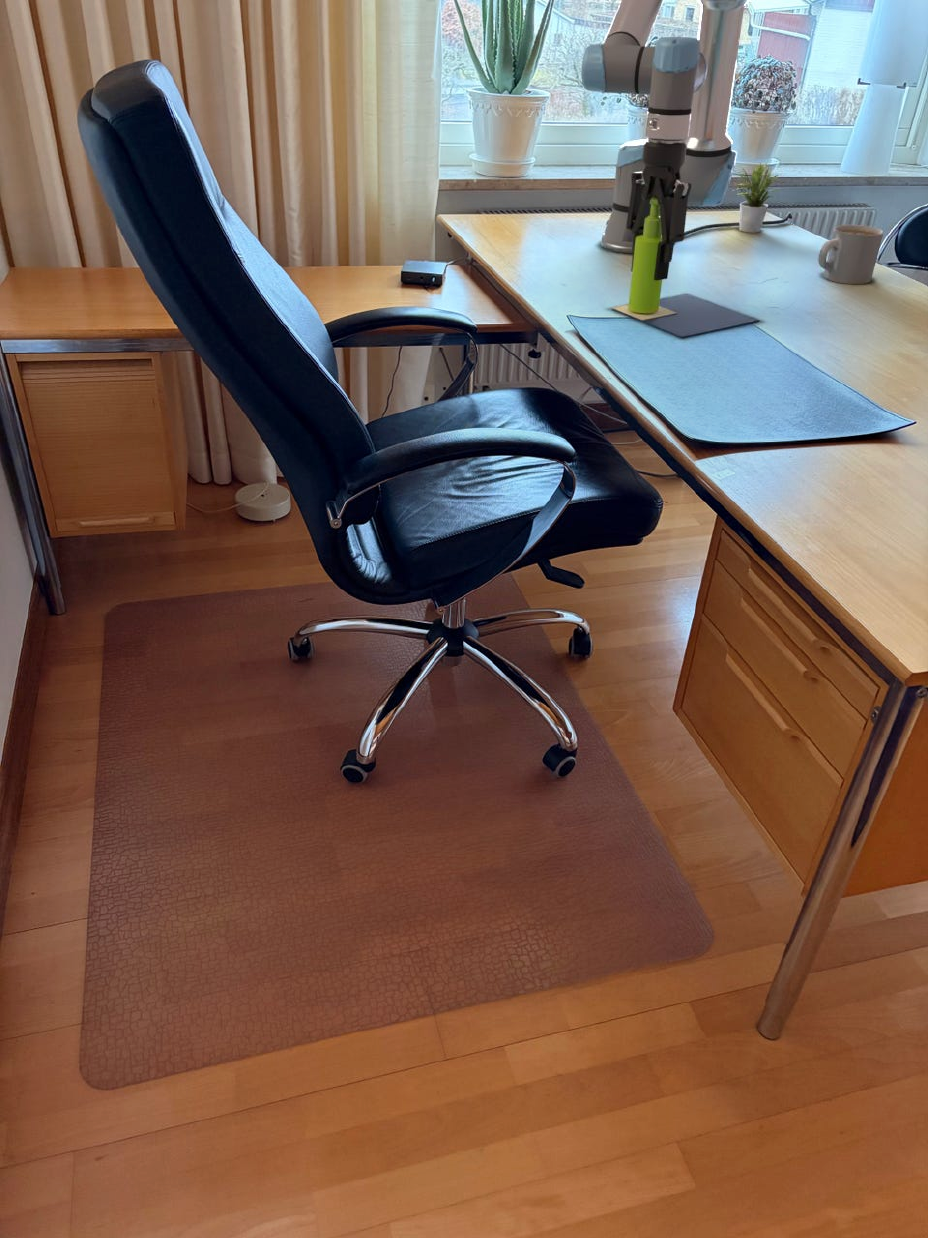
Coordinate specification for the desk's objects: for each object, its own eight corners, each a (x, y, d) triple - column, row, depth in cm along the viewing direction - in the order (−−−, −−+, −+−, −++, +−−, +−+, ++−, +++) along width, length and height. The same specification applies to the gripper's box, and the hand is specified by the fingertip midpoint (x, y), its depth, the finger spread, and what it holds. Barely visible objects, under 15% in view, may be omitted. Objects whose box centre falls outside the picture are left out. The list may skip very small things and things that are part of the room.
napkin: (686, 295, 189) (687, 293, 189) (759, 321, 176) (759, 319, 176) (611, 309, 181) (611, 307, 181) (681, 338, 167) (682, 336, 167)
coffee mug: (857, 271, 206) (869, 223, 201) (879, 283, 198) (892, 234, 193) (801, 272, 205) (811, 225, 199) (820, 284, 197) (832, 235, 191)
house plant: (717, 221, 246) (728, 154, 236) (770, 223, 244) (783, 156, 235) (722, 233, 234) (733, 163, 225) (777, 236, 233) (791, 165, 223)
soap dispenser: (661, 304, 181) (675, 195, 170) (655, 314, 176) (670, 202, 164) (632, 301, 183) (644, 193, 171) (625, 311, 178) (637, 200, 166)
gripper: (615, 134, 167) (602, 265, 180) (687, 149, 154) (667, 289, 167) (646, 131, 170) (631, 261, 184) (719, 146, 157) (698, 284, 171)
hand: (648, 274), depth 175 cm, fingers closed on soap dispenser, 6 cm apart
